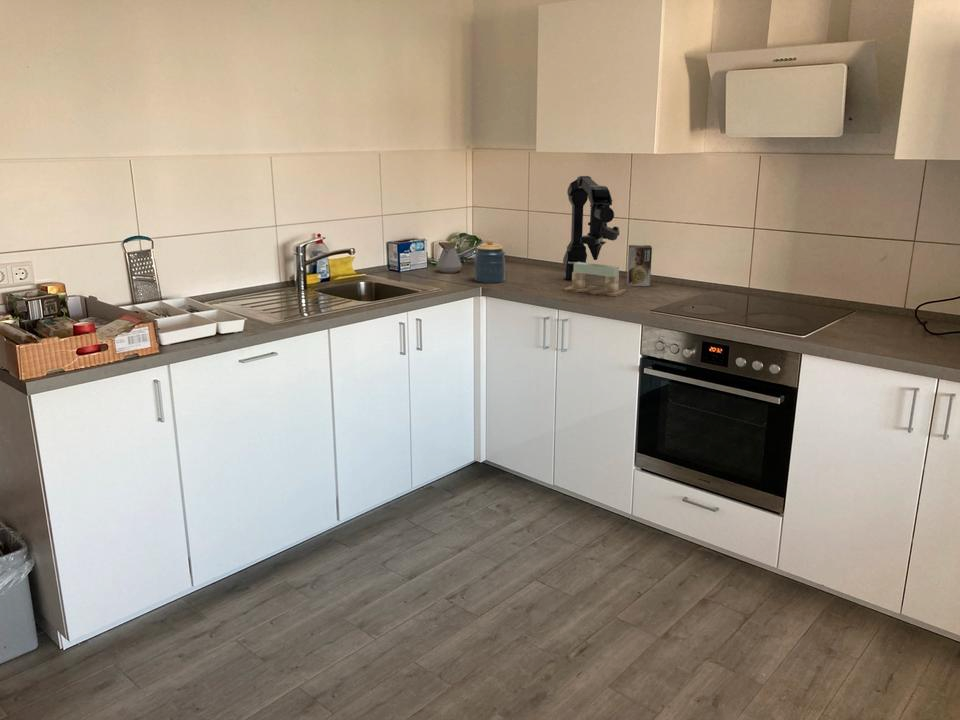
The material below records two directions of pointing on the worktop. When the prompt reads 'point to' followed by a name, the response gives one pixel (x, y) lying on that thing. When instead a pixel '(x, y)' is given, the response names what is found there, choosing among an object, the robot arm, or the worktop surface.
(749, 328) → the worktop surface
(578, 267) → the sage plank
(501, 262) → the canister
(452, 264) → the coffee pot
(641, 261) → the coffee box
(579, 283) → the birch gate
